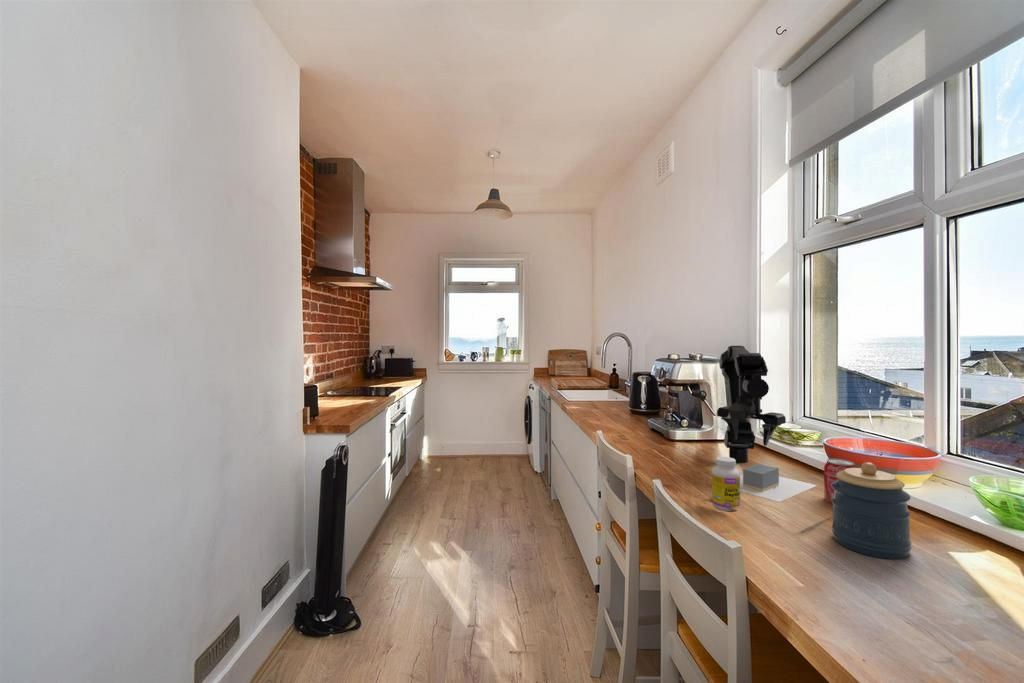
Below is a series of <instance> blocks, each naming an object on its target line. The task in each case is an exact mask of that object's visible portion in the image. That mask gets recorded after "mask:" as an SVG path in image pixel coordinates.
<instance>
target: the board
mask: <svg viewBox="0 0 1024 683" xmlns="http://www.w3.org/2000/svg"><path fill="white" fill-rule="evenodd" d="M817 486H818V485H817V484H813V483H809V482H804V481H801V480H796V479H791V478H789V477H783V476H780V475H779V486H776V487H774V488H771V489H769V490H766V491H764V492H761V491H758V490H754V489H751V488H747V487H743V473H742V474H740V492H744V493H747V494H750V495H754V496H756V497H759V498H764V499H767V500H771V501H774V502H777V503H780V502H783V501H784V500H787V499H789V498H791V497H792V498H793V497H794V496H796V495H799V494H801V493H804V492H806V491H808V490H810V489H812V488H815V487H817Z"/></svg>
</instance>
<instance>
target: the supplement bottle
mask: <svg viewBox="0 0 1024 683" xmlns="http://www.w3.org/2000/svg"><path fill="white" fill-rule="evenodd" d="M715 463H716V466H714V467H713V468H712V469H711V491H712V492H711V493H712V494H711V497H712V500H711V502H712V503H711V504H712V506H713V507H714V508H715V509H717V510H720V511H722V512H730V513H731V512H732V513H733V512H738V509H734V508H735V507H739V506H740V505H741V491H740V475H741V473H740V471H739V470H738V469H737V468H736V465H737V463H736V460H735V459H733V458H730V457H729V456H717V457H716V458H715Z"/></svg>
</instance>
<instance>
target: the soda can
mask: <svg viewBox="0 0 1024 683" xmlns="http://www.w3.org/2000/svg"><path fill="white" fill-rule="evenodd" d="M847 468H856V466H855V462H853V461H851V460H848V459H843V458H827V459H826V462H825V464H824V467H823V488H824V489H823V493H824V495H823V497H824V501H825V502H827V503H829V504H832V505H833V502H832V498H833V497H834V493H835V490H834V489H833V488H832V486H831V484H832V483H833V482H834V481H837V480H838V478H837V477H836V473H838V472H840V471H843V470H845V469H847Z"/></svg>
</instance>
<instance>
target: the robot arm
mask: <svg viewBox="0 0 1024 683" xmlns="http://www.w3.org/2000/svg"><path fill="white" fill-rule="evenodd" d="M718 361H719V369H720V370H721V375H722V376H723V377H724V378H725V380H726V381H727V390H728V391H727V392H728V400H729V405H728V406H727V405H726V406H721V407H720V406H719V407H718V408H717V410H716V416H717V417H719V418H720V419H721V420H723V421H724V422H725V423H726V424H727V426H726V430H725V434H724V437H723V442H724V444H723V445H724V446H725V448H726V449H729V452H728V453H729V454H728V457H730V458H733V459H735V460H736V464H747V463H749V450H754V449H755V442H756V435H755V434H754V430H753V431H752V424H751V422H750V421H748V420H747V419H751V420H759V421H760V420H761V421H762V422H763V423H762V424H761V426H762V429H763V432H762V433H763V435H762V436H763V437H762V438H763V441H762V442H763V446H764V447H766V446H767V445H768V444H769V442H770V439H771V437H772V435H773V433H774V432H775V430H776V429H777V427H780V426H781V425H783V424H786V422H787V421H786V416H785V414H784V413H779V412H772V411H770V412H767V413H763V409H762V408H761V400H763V397H765V396H766V395H767V394H768V393H769V391H770V390H769V389H770V387H769V385H768V383H767V381H766V380H764V379H763V378H762V377H767V376H768V371H769V369H768V366H767V363H766V360H765V359H764V356H762V355H761V353H760V352H750V351H749V350H747V349H746V347H745V346H744V345H730V346H727V350H725V351H724V352H722V353H721V355H720V358H719V360H718Z"/></svg>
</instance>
